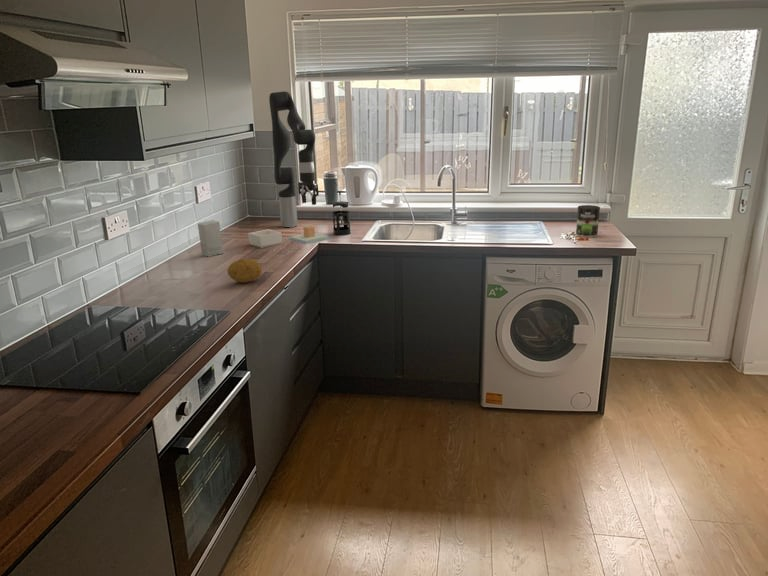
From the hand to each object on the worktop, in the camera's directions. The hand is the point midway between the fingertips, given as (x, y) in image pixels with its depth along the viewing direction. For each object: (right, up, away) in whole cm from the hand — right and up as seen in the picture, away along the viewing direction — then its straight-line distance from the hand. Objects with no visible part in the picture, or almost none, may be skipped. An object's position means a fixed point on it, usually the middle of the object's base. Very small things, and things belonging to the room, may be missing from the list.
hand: (309, 203), depth 290 cm
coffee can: (+138, -17, -6) cm, 140 cm away
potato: (-17, -40, -64) cm, 77 cm away
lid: (0, -17, +5) cm, 18 cm away
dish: (-22, -21, -2) cm, 30 cm away
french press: (+16, -14, +15) cm, 26 cm away
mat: (0, -18, +5) cm, 18 cm away
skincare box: (-43, -27, -19) cm, 54 cm away
